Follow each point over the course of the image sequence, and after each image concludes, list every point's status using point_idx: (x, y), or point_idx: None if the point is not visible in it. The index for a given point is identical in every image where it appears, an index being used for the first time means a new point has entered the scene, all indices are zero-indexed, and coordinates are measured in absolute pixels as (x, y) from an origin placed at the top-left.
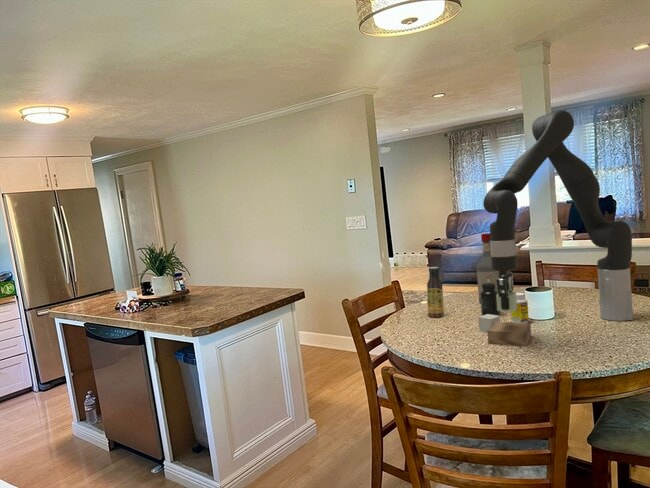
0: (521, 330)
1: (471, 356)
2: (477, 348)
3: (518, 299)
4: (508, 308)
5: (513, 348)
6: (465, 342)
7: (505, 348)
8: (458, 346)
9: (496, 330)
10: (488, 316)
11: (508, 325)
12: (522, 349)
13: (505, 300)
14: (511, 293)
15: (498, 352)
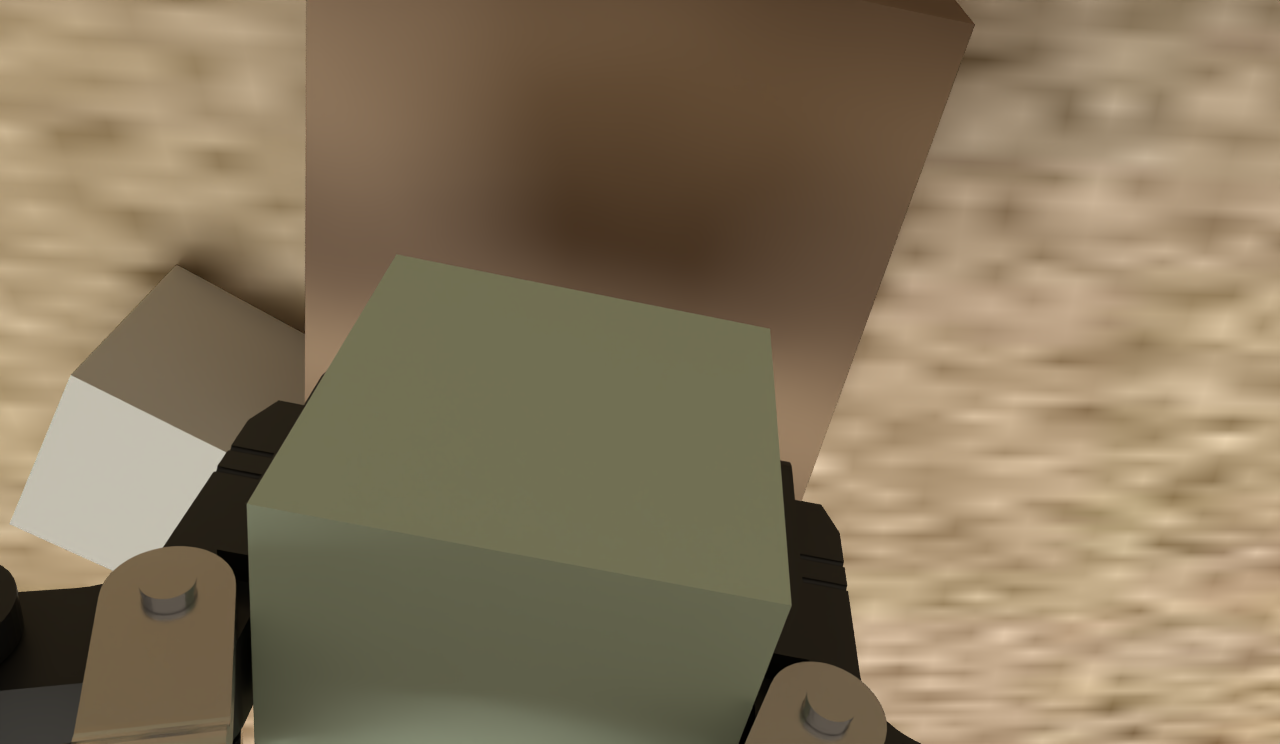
0: (820, 78)
1: (1229, 558)
2: (965, 509)
3: None
4: (785, 474)
5: (1026, 148)
6: None
7: (1010, 242)
8: (875, 652)
9: (785, 419)
10: (151, 513)
11: (505, 258)
12: (1092, 34)
13: (847, 670)
14: (452, 621)
15: (1156, 321)
